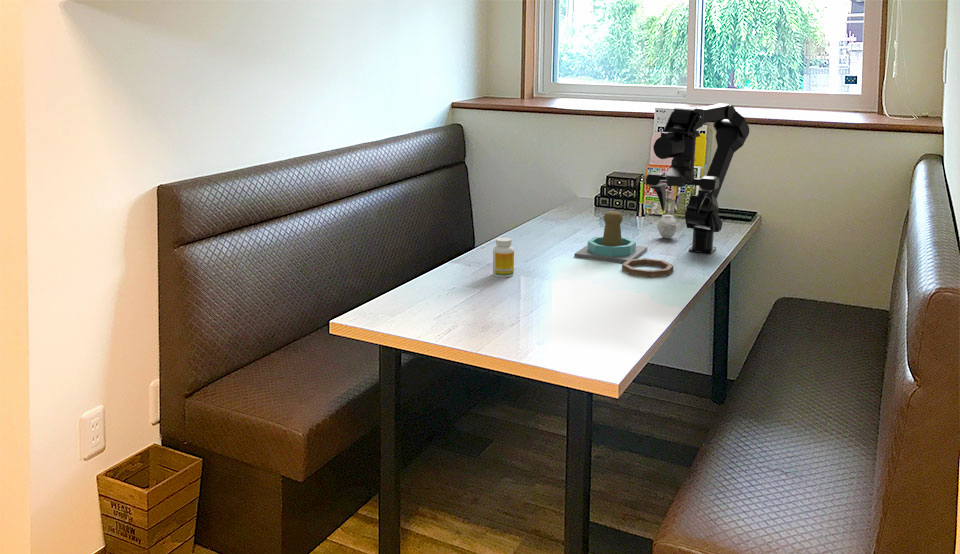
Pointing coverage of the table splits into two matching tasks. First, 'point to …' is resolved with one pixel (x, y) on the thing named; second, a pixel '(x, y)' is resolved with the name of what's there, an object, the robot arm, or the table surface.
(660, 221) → the frog figurine
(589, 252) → the teal ring holder base
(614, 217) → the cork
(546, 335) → the table surface
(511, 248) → the supplement bottle
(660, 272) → the walnut ring
